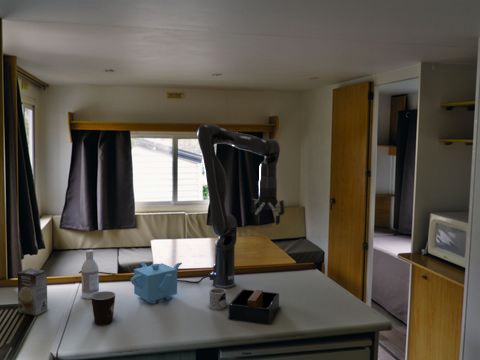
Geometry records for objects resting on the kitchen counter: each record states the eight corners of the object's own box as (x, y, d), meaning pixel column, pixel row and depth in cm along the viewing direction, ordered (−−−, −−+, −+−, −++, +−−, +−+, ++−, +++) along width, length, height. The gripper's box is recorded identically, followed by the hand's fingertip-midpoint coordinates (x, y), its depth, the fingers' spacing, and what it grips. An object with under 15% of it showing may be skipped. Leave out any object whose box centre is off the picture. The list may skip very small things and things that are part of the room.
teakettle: (128, 305, 176) (127, 270, 175) (141, 289, 195) (140, 257, 193) (173, 306, 175) (173, 271, 174) (182, 290, 194) (182, 258, 192)
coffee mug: (102, 328, 154) (101, 301, 154) (86, 322, 159) (85, 296, 158) (126, 317, 164) (126, 291, 163) (111, 312, 169) (110, 287, 168)
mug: (221, 310, 171) (222, 294, 171) (206, 308, 174) (206, 292, 173) (231, 302, 181) (231, 286, 180) (216, 299, 183) (216, 284, 182)
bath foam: (81, 294, 188) (80, 249, 186) (98, 292, 190) (97, 248, 188) (82, 300, 181) (81, 253, 179) (99, 297, 184) (98, 251, 182)
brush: (244, 316, 165) (245, 299, 164) (253, 304, 176) (253, 289, 175) (257, 317, 163) (257, 301, 162) (265, 306, 175) (265, 290, 174)
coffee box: (17, 312, 167) (16, 272, 166) (30, 306, 174) (29, 267, 172) (36, 316, 164) (34, 275, 163) (48, 309, 171) (47, 270, 169)
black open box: (229, 319, 164) (229, 304, 163) (242, 302, 180) (242, 289, 180) (269, 324, 159) (269, 309, 158) (278, 307, 176) (279, 293, 175)
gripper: (286, 185, 185) (285, 223, 186) (254, 184, 189) (253, 221, 190) (282, 187, 178) (281, 226, 179) (249, 186, 182) (249, 224, 183)
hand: (267, 223), depth 185 cm, fingers open, 8 cm apart
